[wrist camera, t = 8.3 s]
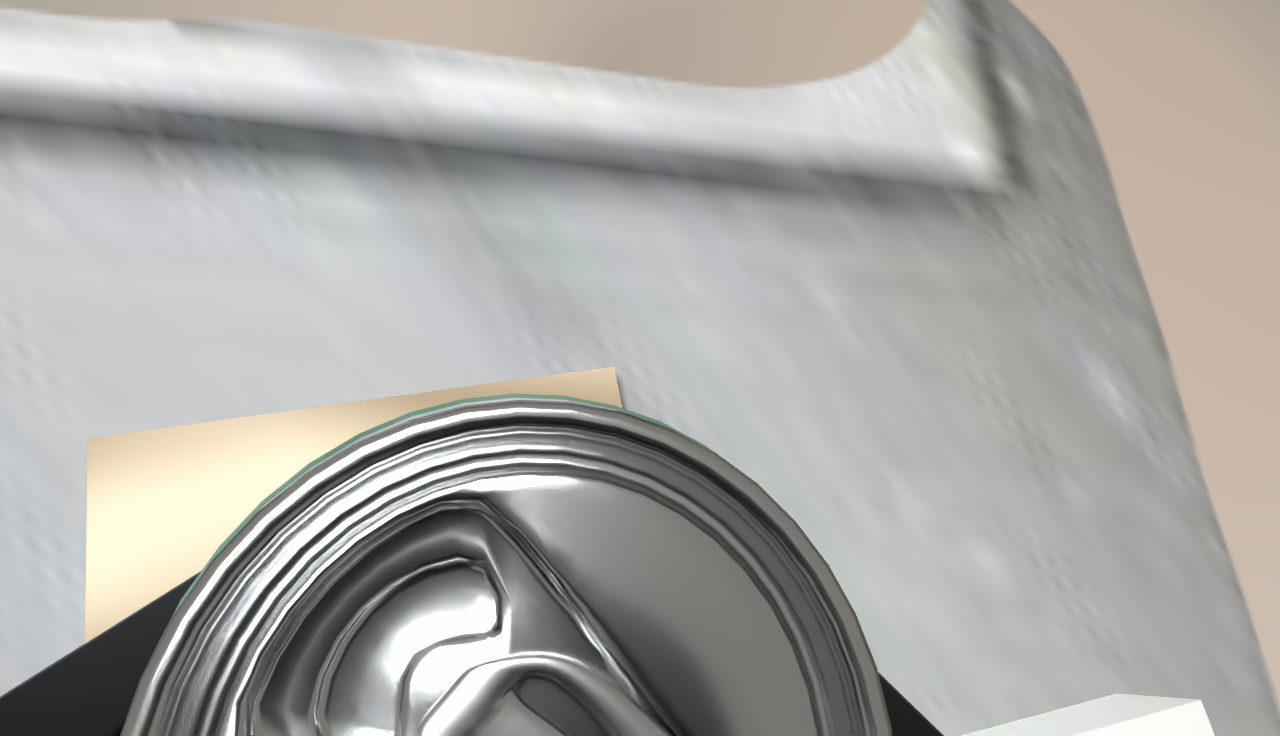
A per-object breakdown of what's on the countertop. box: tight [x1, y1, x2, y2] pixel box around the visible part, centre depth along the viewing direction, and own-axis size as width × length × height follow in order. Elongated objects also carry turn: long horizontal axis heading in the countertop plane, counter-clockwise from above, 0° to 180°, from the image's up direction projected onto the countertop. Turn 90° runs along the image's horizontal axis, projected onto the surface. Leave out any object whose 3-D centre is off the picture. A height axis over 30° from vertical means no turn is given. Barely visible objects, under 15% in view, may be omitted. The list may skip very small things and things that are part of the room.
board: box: [85, 367, 622, 643], centre depth 20 cm, size 14×14×1 cm
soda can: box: [120, 393, 892, 736], centre depth 10 cm, size 5×5×12 cm
